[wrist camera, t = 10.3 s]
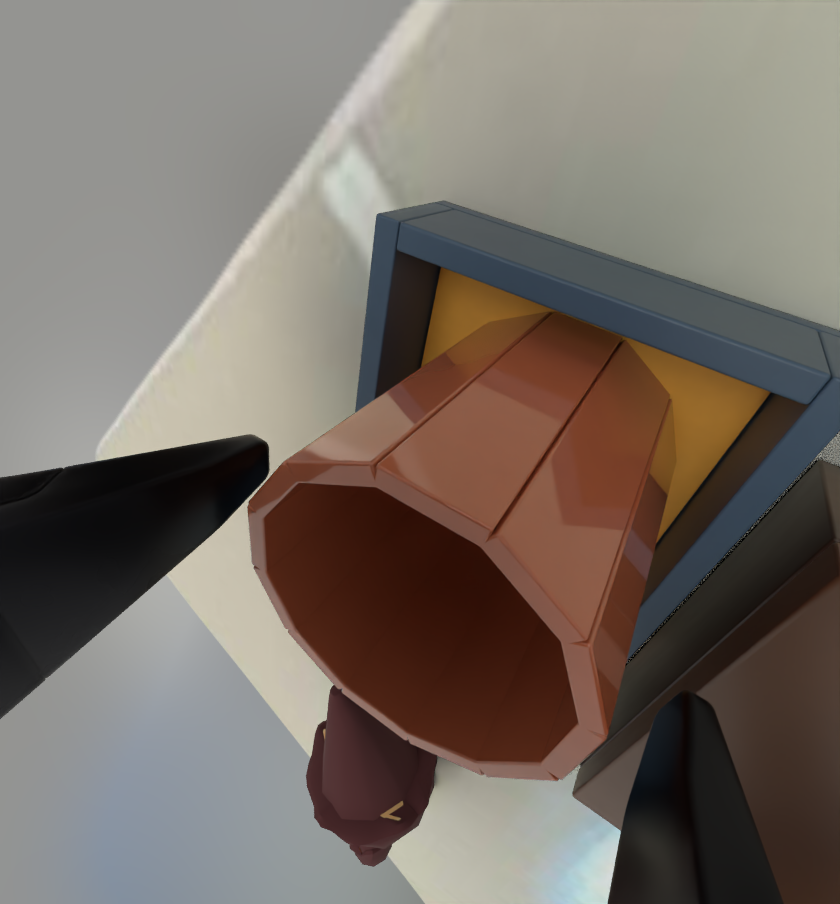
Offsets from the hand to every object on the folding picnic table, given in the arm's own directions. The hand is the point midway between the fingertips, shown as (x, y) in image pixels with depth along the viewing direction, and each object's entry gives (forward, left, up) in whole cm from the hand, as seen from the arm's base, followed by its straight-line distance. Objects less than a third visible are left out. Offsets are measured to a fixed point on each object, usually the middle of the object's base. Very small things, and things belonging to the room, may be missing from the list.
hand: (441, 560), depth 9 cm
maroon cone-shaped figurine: (+1, +22, -7) cm, 23 cm away
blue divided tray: (0, +5, -6) cm, 8 cm away
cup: (0, 0, -6) cm, 6 cm away
